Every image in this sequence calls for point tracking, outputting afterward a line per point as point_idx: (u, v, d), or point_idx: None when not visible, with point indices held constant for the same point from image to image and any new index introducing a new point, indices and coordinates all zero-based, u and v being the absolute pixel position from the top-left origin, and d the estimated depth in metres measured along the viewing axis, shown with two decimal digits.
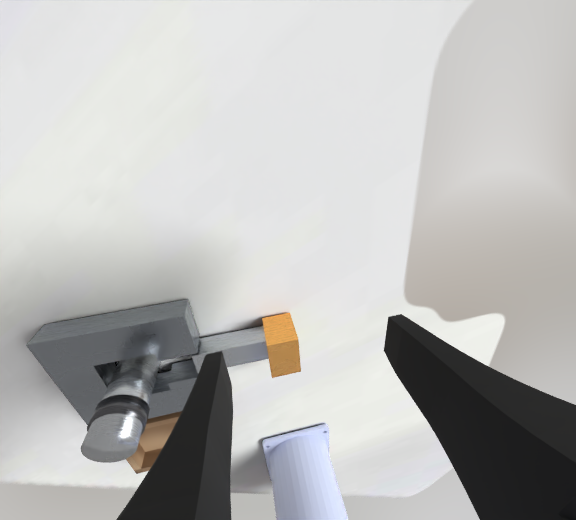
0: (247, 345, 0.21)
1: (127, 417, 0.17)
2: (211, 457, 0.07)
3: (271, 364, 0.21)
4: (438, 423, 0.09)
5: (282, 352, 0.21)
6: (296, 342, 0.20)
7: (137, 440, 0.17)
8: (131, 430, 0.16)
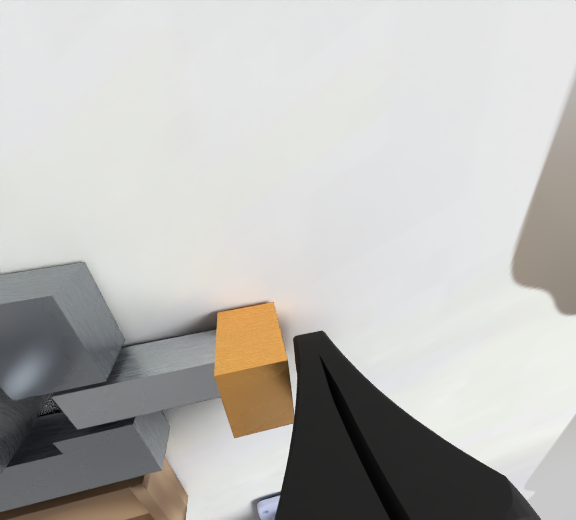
0: (180, 371, 0.10)
1: None
2: None
3: (230, 413, 0.10)
4: None
5: (252, 388, 0.09)
6: (284, 366, 0.09)
7: None
8: None
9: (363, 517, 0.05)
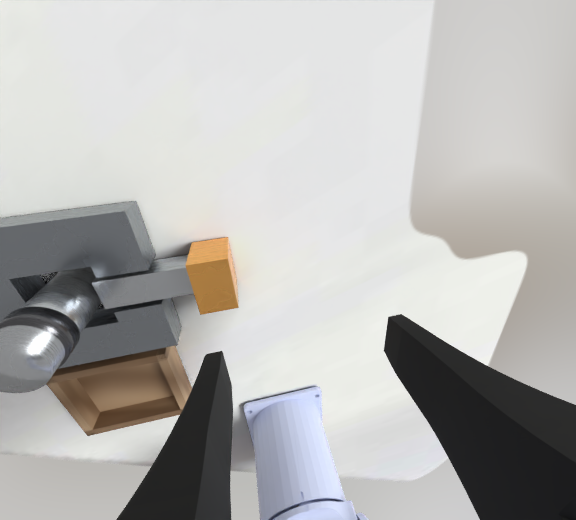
0: (167, 271, 0.17)
1: (38, 331, 0.12)
2: (211, 457, 0.07)
3: (196, 294, 0.16)
4: (438, 423, 0.09)
5: (208, 277, 0.16)
6: (226, 263, 0.16)
7: (51, 362, 0.12)
8: (41, 347, 0.12)
9: None
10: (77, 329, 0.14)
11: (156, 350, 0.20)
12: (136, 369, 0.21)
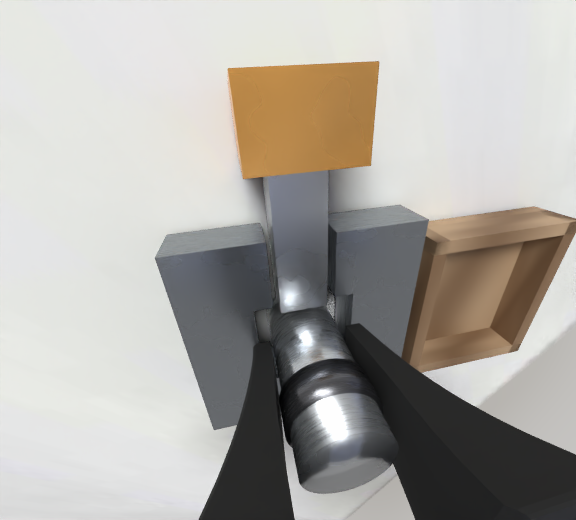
0: (273, 213, 0.09)
1: (303, 418, 0.08)
2: None
3: (318, 166, 0.07)
4: None
5: (277, 130, 0.07)
6: (241, 75, 0.06)
7: (355, 428, 0.07)
8: (324, 430, 0.07)
9: None
10: (329, 361, 0.09)
11: (425, 252, 0.12)
12: (447, 279, 0.14)
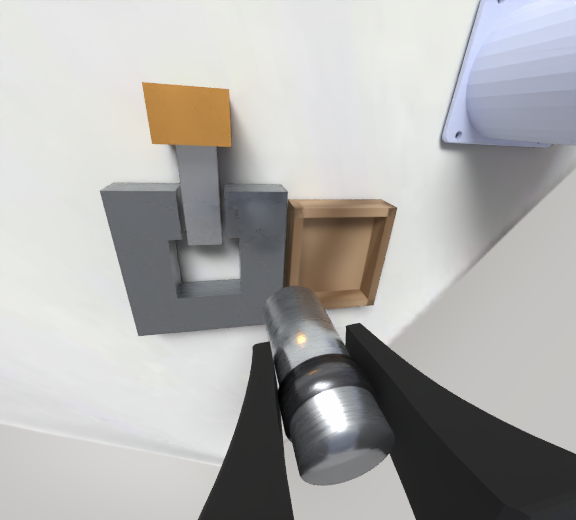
0: (180, 172, 0.14)
1: (302, 411, 0.08)
2: None
3: (198, 142, 0.13)
4: None
5: (172, 118, 0.12)
6: (149, 86, 0.12)
7: (353, 419, 0.07)
8: (323, 422, 0.07)
9: None
10: (326, 356, 0.09)
11: (292, 216, 0.17)
12: (320, 244, 0.20)
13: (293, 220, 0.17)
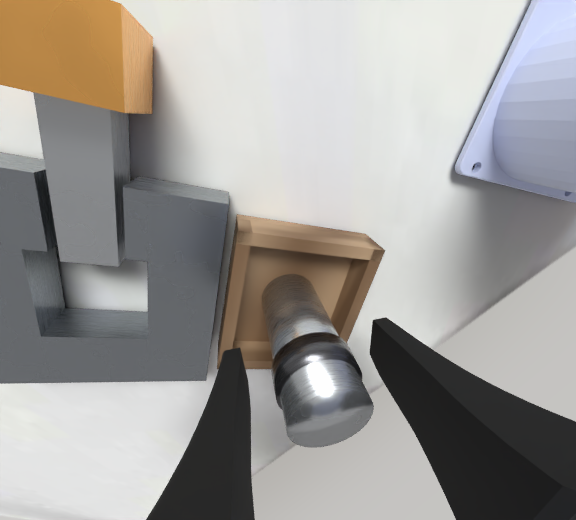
0: (44, 143, 0.09)
1: (290, 380, 0.09)
2: (237, 450, 0.07)
3: (59, 92, 0.07)
4: (420, 428, 0.09)
5: (2, 34, 0.06)
6: None
7: (334, 386, 0.08)
8: (308, 388, 0.09)
9: None
10: (314, 334, 0.10)
11: (235, 240, 0.12)
12: None
13: (235, 246, 0.12)
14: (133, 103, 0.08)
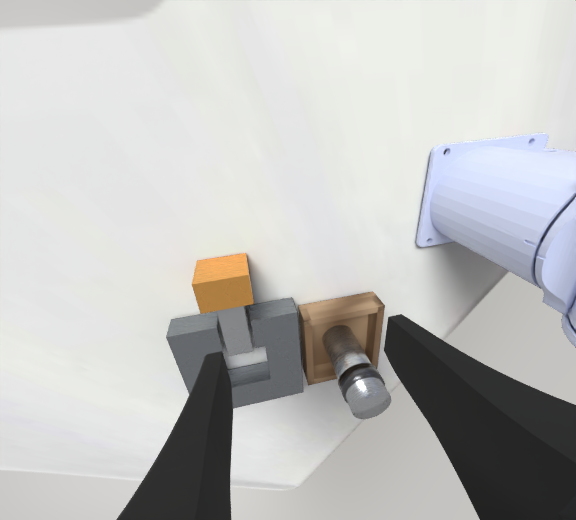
0: (219, 315, 0.20)
1: (349, 391, 0.20)
2: (211, 457, 0.07)
3: (231, 306, 0.18)
4: (438, 423, 0.09)
5: (212, 298, 0.18)
6: (196, 285, 0.17)
7: (368, 391, 0.19)
8: (357, 394, 0.19)
9: None
10: (355, 366, 0.21)
11: (303, 323, 0.23)
12: None
13: (304, 327, 0.22)
14: (252, 294, 0.19)
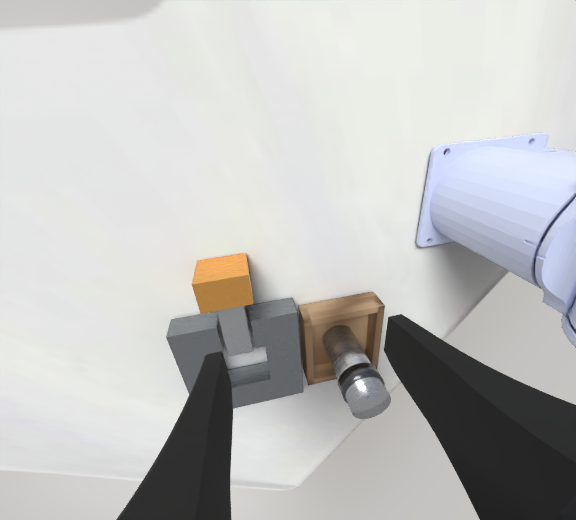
0: (219, 315, 0.20)
1: (348, 391, 0.20)
2: (211, 457, 0.07)
3: (231, 306, 0.18)
4: (438, 423, 0.09)
5: (212, 298, 0.18)
6: (196, 285, 0.17)
7: (367, 391, 0.19)
8: (356, 394, 0.19)
9: None
10: (354, 365, 0.21)
11: (303, 323, 0.23)
12: None
13: (304, 327, 0.22)
14: (252, 294, 0.19)
